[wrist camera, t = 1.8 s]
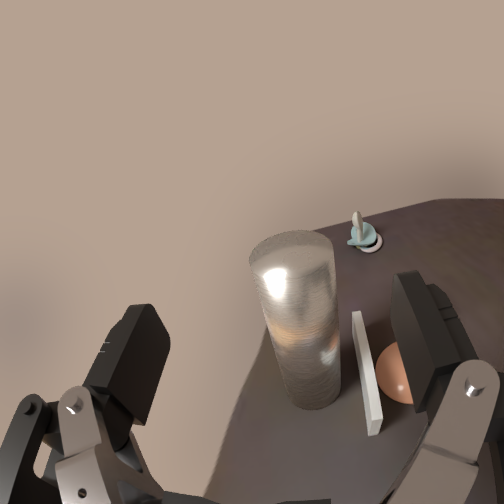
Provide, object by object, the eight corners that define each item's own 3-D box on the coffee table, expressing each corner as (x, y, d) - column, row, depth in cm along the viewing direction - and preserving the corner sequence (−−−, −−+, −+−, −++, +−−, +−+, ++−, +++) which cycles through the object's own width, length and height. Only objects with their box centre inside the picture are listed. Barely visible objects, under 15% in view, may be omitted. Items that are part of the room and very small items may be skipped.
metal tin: (327, 358, 34) (311, 222, 24) (349, 396, 29) (348, 258, 19) (280, 377, 33) (240, 246, 24) (298, 418, 28) (262, 290, 19)
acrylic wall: (352, 334, 36) (352, 312, 34) (360, 333, 35) (360, 310, 33) (368, 435, 24) (372, 420, 22) (378, 434, 24) (382, 418, 22)
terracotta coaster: (420, 329, 33) (421, 327, 33) (463, 376, 25) (464, 375, 25) (361, 360, 32) (361, 359, 32) (400, 418, 24) (401, 417, 24)
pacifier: (384, 235, 52) (353, 232, 55) (384, 204, 49) (351, 202, 52) (379, 258, 47) (345, 254, 50) (380, 224, 44) (343, 221, 47)
